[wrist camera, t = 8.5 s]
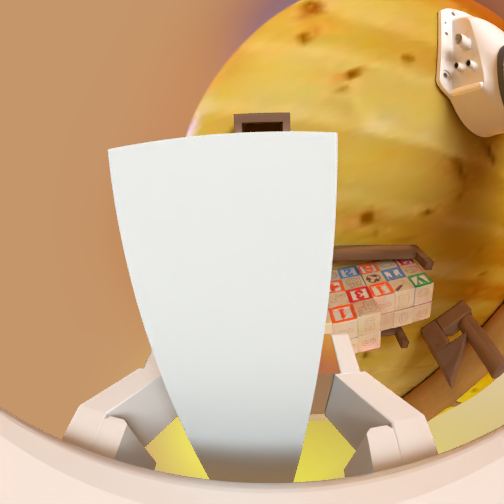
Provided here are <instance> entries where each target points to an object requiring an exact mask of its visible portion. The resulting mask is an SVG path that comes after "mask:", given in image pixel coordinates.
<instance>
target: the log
mask: <svg viewBox="0 0 504 504" xmlns="http://www.w3.org/2000/svg"><path fill="white" fill-rule="evenodd" d="M482 329H483V330H484V331H485V332H486V334H487V335H488V336H489V338H490V339H491V340H492V342H493V343H494V344H495V346H496V347H497V349H498V350H499V351H500V353H501V354H502V356H503V357H504V303H503V305H502V306H501V307H500V308H499V309H498V310H497V311H496V313H495V314H494V315H493V316H492V317H491V318H490V319H489V321H488V322H487V323H486V324H485V325H484V326H483V327H482ZM487 373H488V370H487V369H486V367H485V366H484V364H483V363H482V361H481V360H480V358H479V356H478V355H477V353H476V352H475V350H474V349H473V348H472V346H471V345H470V343H469V342H468V343H467V345H466V349H465V352H464V356H463V359H462V362H461V365H460V368H459V371H458V374H457V377H456V380H455V382H454V385H453V388H452V389H451V388H450V386H449V384H448V382H447V380H446V378H445V376H444V374H443V372H442V370H441V369H438V370H437V371H436V372H435V373H434V374H433V375H431V376H430V377H429V378H428V379H426V380H425V381H424V382H423V383H421V384H420V385H419V386H418V387H416V388H415V389H414V390H412V391H411V392H410V393H409V394H407V395H406V396H405V397H403V398H402V399H403V400H404V401H406V402H407V403H408V404H410V405H411V406H412V407H414V408H415V409H417V410H418V411H419V412H421V413H422V414H423V415H424V416H425V418H426V421H429V420H430V419H432V418H433V417H434V416H436V415H437V414H439V413H440V412H442V411H443V410H444V409H446V408H448V407H450V406H457V405H459V404H460V403H461V402H457V401H456V400H457V399H458V398H459V397H461V396H462V395H463V394H464V393H465V392H467V391H468V390H469V389H470V388H471V387H472V386H473V385H475V384H476V383H477V382H478V381H479V380H480V379H481V378H482V377H483V376H485V375H486V374H487Z"/></svg>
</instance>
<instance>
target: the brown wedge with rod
mask: <svg viewBox="0 0 504 504" xmlns="http://www.w3.org/2000/svg"><path fill="white" fill-rule="evenodd" d="M459 330H461V332H462V333H463V334H462V335H461V336H459V337H458V338H457V339H455V340H454V341H452V342H451V343H450V342H449V340H448V339H447V337H446V335H454V334H455V333H456V332H458V331H459ZM421 332H422V335H423V338H424V340H425V342H426V344H427V345H428V347H429V349H430V351H431V352H432V354H433V356H434V358H435V360H436V361H437V363H438V365H439V367H440V369H441V370H442V372H443V374H444V376H445V378H446V380H447V382H448V384H449V386H450V388H451V389H452V388H453V385H454V382H455V380H456V377H457V374H458V371H459V368H460V365H461V362H462V359H463V356H464V352H465V349H466V345H467V340H468V342H469V343H470V345H471V346H472V348H473V349H474V350H475V352H476V353H477V355H478V356H479V358H480V360H481V361H482V363H483V364H484V366H485V367H486V369H487V370H488V372H489V374H490V375H491V377H492V378H493V379H495V378H497V377H499V376H500V375H501V374H502V373H503V372H504V357H503V356H502V354H501V353H500V351H499V350H498V349H497V347H496V346H495V344H494V343H493V342H492V340H491V339H490V338H489V336H488V335H487V334H486V332H485V331H484V330H483V329H482V327H481V326H480V325H479V324H478V322H477V321H476V320H475V319H474V317H473V316H472V313H471V309H470V308H469V307H468V305H467V304H466V303H465V302H464V301H463V300H462V301H461V302H459V303H458V304H457V305H455V306H454V307H453V308H451V309H450V310H448V311H447V312H446V313H444V314H443V315H441V316H440V317H438V318H437V319H436V321H435V320H434V321H432V322H431V323H429V324H428V325H426V326H425V327H423V328H422V329H421Z"/></svg>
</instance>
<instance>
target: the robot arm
mask: <svg viewBox="0 0 504 504" xmlns="http://www.w3.org/2000/svg"><path fill="white" fill-rule="evenodd" d="M452 14H453V15H452ZM443 74H444V75H445V77H444V75H443ZM436 83H437V85H438V87H439V88H440V89H441V90H442V92H443V93H444V94H445V95H446V96H447V97H448V98H449V99H450V101H451V103H452V105H453V107H454V109H455V111H456V113H457V115H458V116H459V118H460V120H461V121H462V122H463V124H464V125H465V126H466V127H467V128H468V129H469V130H470V131H471V132H473V133H474V134H476V135H478V136H481V137H491V136H494V135H498V134H504V32H503V31H501V30H500V29H499V28H497V27H496V26H494V25H493V24H491V23H489V22H487V21H485V20H483V19H480V18H477V17H473V16H471V15H469V14H467V13H464V12H462V11H459V10H455V9H443V10H440V11H439V12H438V58H437V73H436ZM323 413H325V416H326V417H327V418H328V419H329V420H330V422H331V423H332V424H333V425H334V426H335V427H336V429H338V431H339V432H340V433H341V434H342V435H343V436H344V438H345V439H346V440H347V441H348V442H349V443H350V444H351V445H352V447H353V448H354V449H355V450H356V452H355V454H354V455H353V457H352V458H351V460H350V461H349V463H348V464H347V466H346V468H345V469H344V472H345V478H338V479H331V480H322V481H311V482H294V483H245V482H229V481H217V480H208V479H200V478H193V477H186V476H181V475H175V474H169V473H165V472H160V471H155V470H154V469H155V466H156V462H155V460H154V459H153V458H152V457H151V456H150V454H149V453H148V451H147V450H146V449H145V448H144V447H145V446H147V445H148V444H149V443H150V442H151V441H152V440H153V439H154V438H155V437H156V436H157V435H158V434H159V433H160V432H161V431H162V430H163V429H165V428H166V427H167V425H169V424H170V423H171V422H172V421H173V420H174V419H175V418H176V417H177V416H178V415H177V412H176V410H175V408H174V406H173V403H172V401H171V398H170V396H169V394H168V391H167V389H166V386H165V384H164V381H163V378H162V376H161V373H160V371H159V368H158V365H157V362H156V360H155V357H154V354H153V351H151V353H150V355H149V358H148V360H147V362H146V364H145V366H144V368H138V369H137V370H135V371H134V372H132V373H131V374H129V375H128V376H126V377H125V378H123V379H121V380H120V381H118V382H117V383H115V384H114V385H112V386H110V387H109V388H107V389H105V390H104V391H102V392H101V393H99V394H97V395H96V396H94V397H93V398H91V399H89V400H88V401H86V402H85V403H83V404H81V405H80V406H79V407H78V409H77V411H76V413H75V415H74V417H73V419H72V421H71V422H70V425H69V426H68V428H67V430H66V432H65V434H64V436H63V438H62V440H61V439H59V438H57V437H55V436H53V435H50V434H48V433H46V432H44V431H42V430H40V429H38V428H36V427H35V426H33V425H31V424H29V423H27V422H25V421H23V420H22V419H20V418H18V417H17V416H15V415H13V414H12V413H10V412H8V411H6V410H5V409H3V408H2V407H0V504H504V425H502V426H501V427H499V428H497V429H495V430H493V431H491V432H489V433H487V434H485V435H483V436H481V437H479V438H477V439H475V440H473V441H470V442H468V443H466V444H463V445H461V446H459V447H456V448H454V449H451V450H449V451H446V452H443V453H441V454H438V452H437V449H436V446H435V443H434V440H433V437H432V434H431V432H430V429H429V426H428V423H427V421H426V418H425V416H424V415H423V414H422V413H421V412H419V411H418V410H417V409H415V408H414V407H412V406H411V405H410V404H408V403H407V402H406V401H404V400H403V399H402V398H400V397H399V396H398V395H396V394H395V393H393V392H392V391H391V390H389V389H388V388H387V387H385V386H384V385H383V384H381V383H380V382H379V381H377V380H376V379H375V378H374V377H372V376H371V375H370V374H368V373H367V372H366V371H362V372H360V369H359V366H358V363H357V360H356V356H355V353H354V350H353V347H352V344H351V341H350V338H349V335H348V333H346V332H341V333H330V334H324V338H323V345H322V351H321V357H320V363H319V369H318V375H317V381H316V386H315V391H314V397H313V402H312V407H311V411H310V414H323Z"/></svg>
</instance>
